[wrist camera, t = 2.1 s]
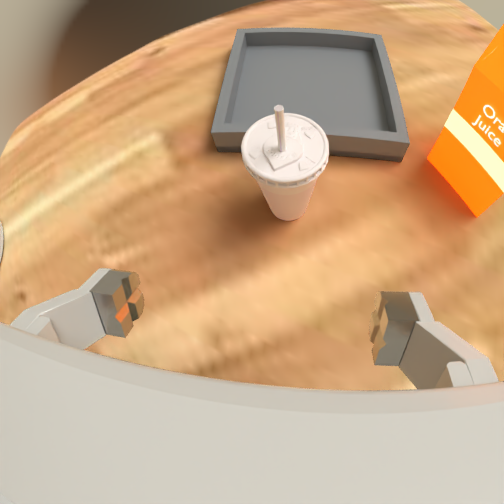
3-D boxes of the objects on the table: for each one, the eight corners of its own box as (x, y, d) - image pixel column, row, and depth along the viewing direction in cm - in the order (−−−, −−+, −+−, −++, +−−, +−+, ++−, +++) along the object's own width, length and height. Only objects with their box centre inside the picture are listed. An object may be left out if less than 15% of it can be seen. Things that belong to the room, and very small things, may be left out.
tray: (218, 152, 34) (210, 132, 31) (241, 47, 40) (237, 29, 36) (401, 162, 31) (409, 143, 27) (377, 53, 37) (381, 35, 33)
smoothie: (246, 223, 31) (212, 130, 18) (268, 168, 32) (250, 64, 19) (310, 242, 29) (321, 154, 16) (328, 185, 31) (343, 81, 18)
